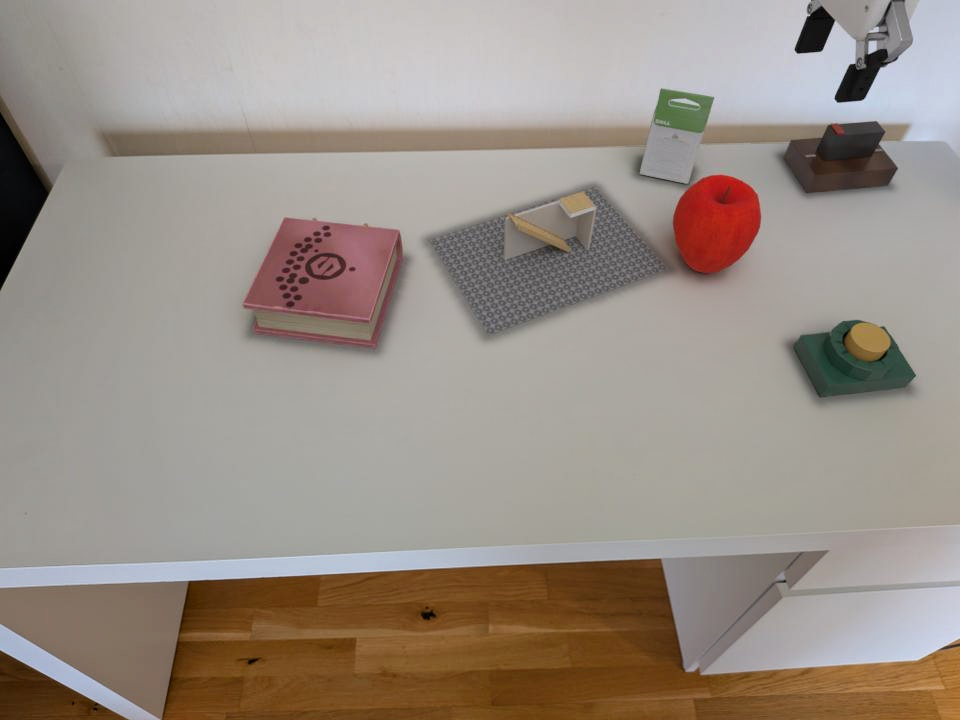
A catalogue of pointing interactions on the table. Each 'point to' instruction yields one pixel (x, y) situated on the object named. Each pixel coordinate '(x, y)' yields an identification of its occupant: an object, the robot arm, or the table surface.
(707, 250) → the apple
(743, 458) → the table surface
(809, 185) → the plate
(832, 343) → the box
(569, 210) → the model
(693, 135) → the ink box
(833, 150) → the lock knob
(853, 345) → the button
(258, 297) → the book
